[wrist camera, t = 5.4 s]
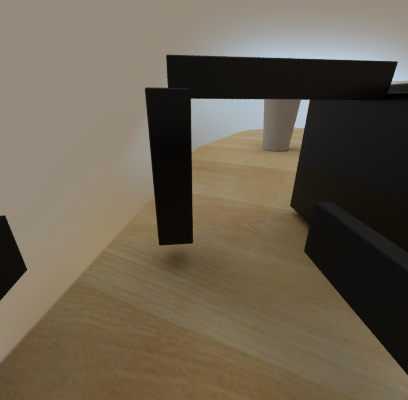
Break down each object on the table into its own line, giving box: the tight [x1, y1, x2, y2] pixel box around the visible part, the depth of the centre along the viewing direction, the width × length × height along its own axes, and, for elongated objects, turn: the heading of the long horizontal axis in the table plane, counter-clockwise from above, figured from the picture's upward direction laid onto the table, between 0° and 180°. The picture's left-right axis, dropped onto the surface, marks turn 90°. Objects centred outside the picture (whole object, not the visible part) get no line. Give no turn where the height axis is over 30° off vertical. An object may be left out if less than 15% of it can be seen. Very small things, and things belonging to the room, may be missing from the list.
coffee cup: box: [263, 99, 301, 151], centre depth 57 cm, size 10×10×15 cm
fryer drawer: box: [145, 55, 408, 252], centre depth 17 cm, size 30×14×13 cm, turn 97°
